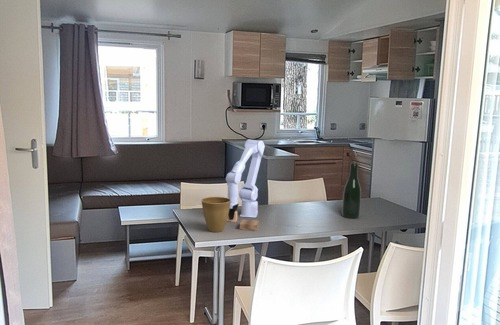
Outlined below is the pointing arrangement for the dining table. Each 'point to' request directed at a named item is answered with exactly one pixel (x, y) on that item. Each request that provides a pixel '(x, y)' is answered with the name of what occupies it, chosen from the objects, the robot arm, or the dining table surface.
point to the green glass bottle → (352, 194)
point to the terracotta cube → (234, 217)
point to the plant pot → (216, 212)
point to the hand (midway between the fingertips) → (232, 218)
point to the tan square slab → (249, 224)
